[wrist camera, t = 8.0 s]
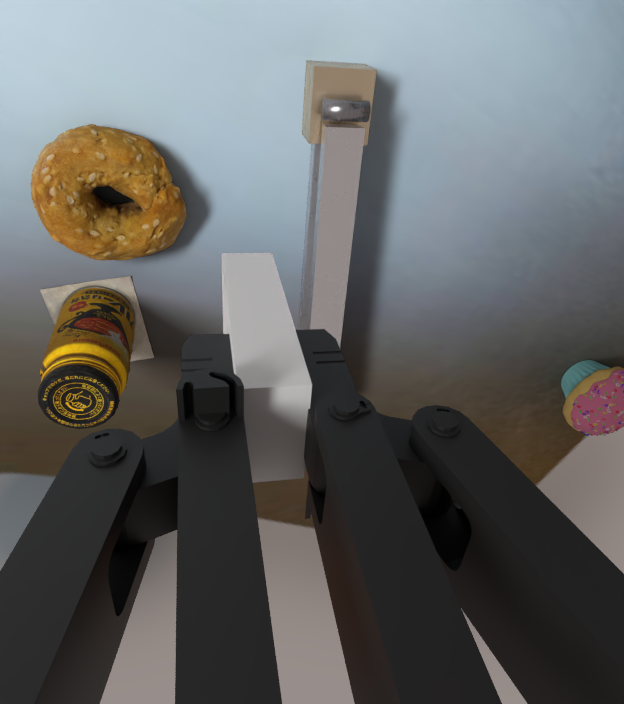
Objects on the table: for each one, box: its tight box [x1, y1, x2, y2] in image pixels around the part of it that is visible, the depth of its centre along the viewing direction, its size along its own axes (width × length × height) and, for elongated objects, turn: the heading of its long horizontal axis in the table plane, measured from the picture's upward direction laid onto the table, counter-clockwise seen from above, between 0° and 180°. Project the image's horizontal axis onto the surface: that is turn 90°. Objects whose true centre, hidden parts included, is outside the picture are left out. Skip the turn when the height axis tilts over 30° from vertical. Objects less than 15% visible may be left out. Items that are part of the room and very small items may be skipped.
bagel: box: [31, 124, 187, 260], centre depth 40 cm, size 10×11×5 cm
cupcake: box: [561, 360, 624, 436], centre depth 58 cm, size 9×8×12 cm
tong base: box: [298, 60, 377, 330], centre depth 46 cm, size 4×28×3 cm, turn 176°
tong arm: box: [307, 98, 371, 347], centre depth 45 cm, size 3×27×2 cm, turn 176°
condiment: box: [38, 276, 154, 429], centre depth 43 cm, size 7×8×12 cm
